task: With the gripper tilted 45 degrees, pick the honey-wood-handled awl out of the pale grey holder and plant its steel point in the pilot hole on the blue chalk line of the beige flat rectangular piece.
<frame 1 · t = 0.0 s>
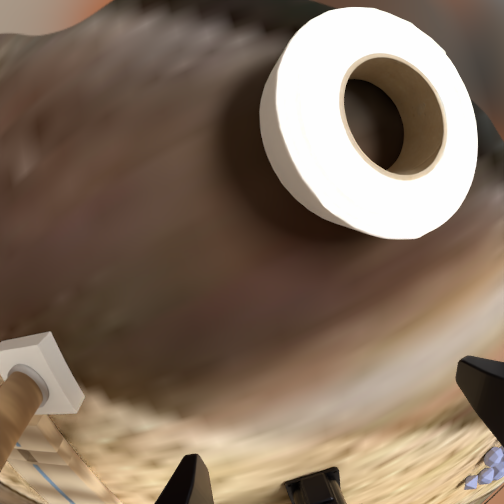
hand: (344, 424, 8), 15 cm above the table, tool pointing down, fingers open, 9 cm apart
roll of tape: (360, 126, 21), on the table
awl: (9, 411, 15), in the awl holder
awl holder: (40, 369, 21), on the table
beige flat rectangular piece: (56, 468, 24), on the table
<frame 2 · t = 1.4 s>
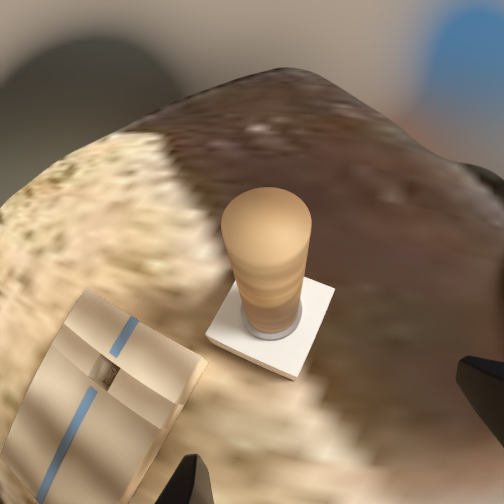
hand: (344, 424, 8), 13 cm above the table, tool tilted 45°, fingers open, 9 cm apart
awl: (270, 288, 18), in the awl holder
awl holder: (272, 322, 23), on the table
beige flat rectangular piece: (93, 424, 20), on the table
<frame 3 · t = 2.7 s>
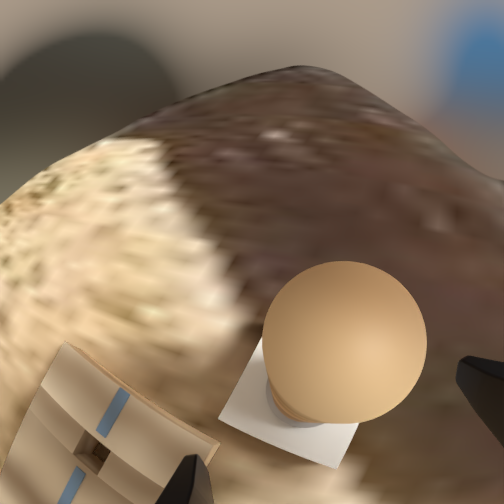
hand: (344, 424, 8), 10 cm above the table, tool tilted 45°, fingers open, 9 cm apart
awl: (314, 380, 11), in the awl holder
awl holder: (302, 394, 17), on the table
beige flat rectangular piece: (84, 498, 13), on the table
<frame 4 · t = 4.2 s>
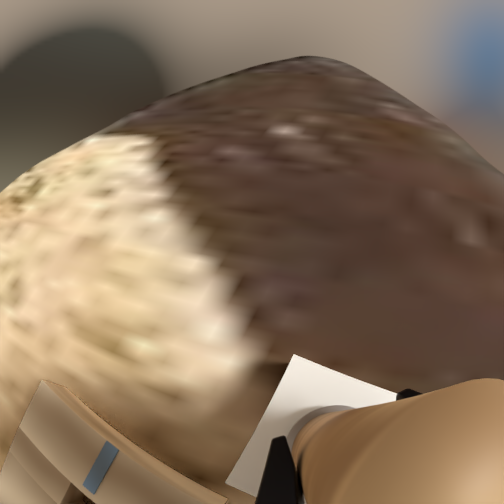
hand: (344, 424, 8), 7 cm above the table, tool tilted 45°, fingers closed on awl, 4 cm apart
awl: (353, 461, 7), in the awl holder, touching gripper
awl holder: (323, 445, 13), on the table
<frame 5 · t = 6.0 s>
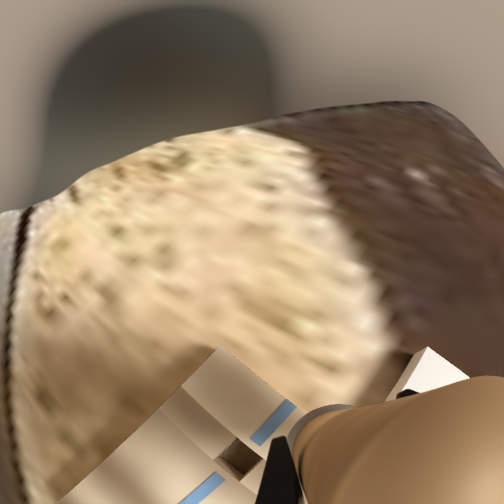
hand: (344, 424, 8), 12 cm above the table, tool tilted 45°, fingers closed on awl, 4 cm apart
awl: (353, 460, 7), point 12 cm above the table, touching gripper
awl holder: (423, 415, 17), on the table
beige flat rectangular piece: (195, 497, 16), on the table
when the fingers open (8 cm above the table, at t = 7.7 s): awl stays where it is, resting on beige flat rectangular piece.
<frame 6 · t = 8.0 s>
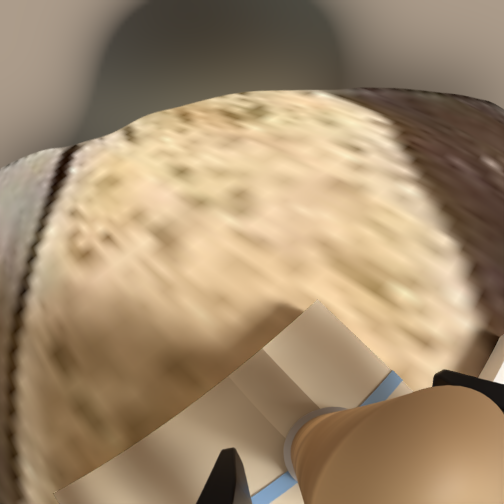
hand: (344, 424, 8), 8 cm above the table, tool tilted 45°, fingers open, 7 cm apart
awl: (346, 458, 8), in the beige flat rectangular piece
beige flat rectangular piece: (251, 497, 13), on the table
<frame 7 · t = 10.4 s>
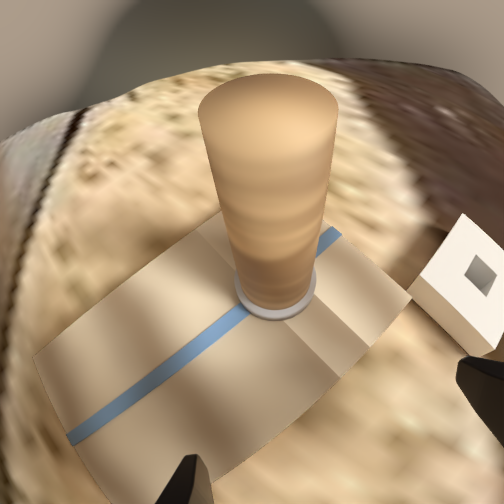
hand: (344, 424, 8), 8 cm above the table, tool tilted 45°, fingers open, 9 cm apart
awl: (274, 240, 13), in the beige flat rectangular piece
awl holder: (463, 291, 17), on the table
beige flat rectangular piece: (211, 353, 17), on the table
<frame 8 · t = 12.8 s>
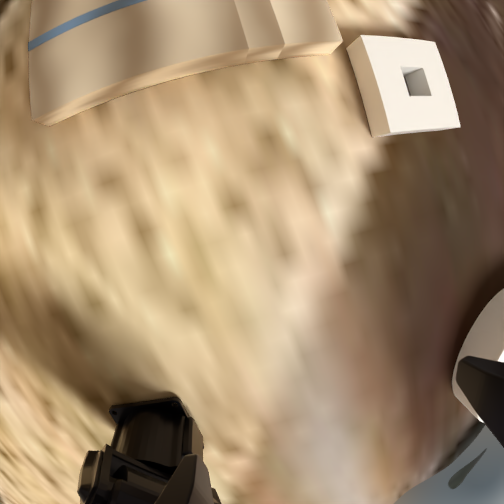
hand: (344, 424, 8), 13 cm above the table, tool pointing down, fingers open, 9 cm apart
roll of tape: (494, 345, 26), on the table
awl holder: (398, 89, 18), on the table
beige flat rectangular piece: (170, 9, 15), on the table
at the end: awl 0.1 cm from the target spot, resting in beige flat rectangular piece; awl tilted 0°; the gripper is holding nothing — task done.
